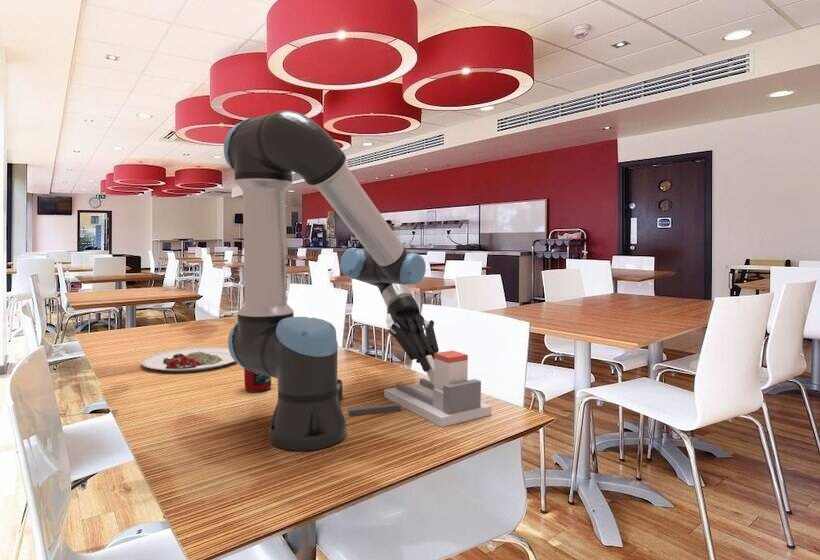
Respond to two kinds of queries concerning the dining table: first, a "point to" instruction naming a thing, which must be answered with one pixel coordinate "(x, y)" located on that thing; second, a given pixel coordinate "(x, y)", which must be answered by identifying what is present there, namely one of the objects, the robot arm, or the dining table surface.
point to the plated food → (189, 359)
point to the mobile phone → (339, 389)
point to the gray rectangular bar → (373, 409)
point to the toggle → (449, 368)
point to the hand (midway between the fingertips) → (437, 381)
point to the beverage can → (256, 381)
